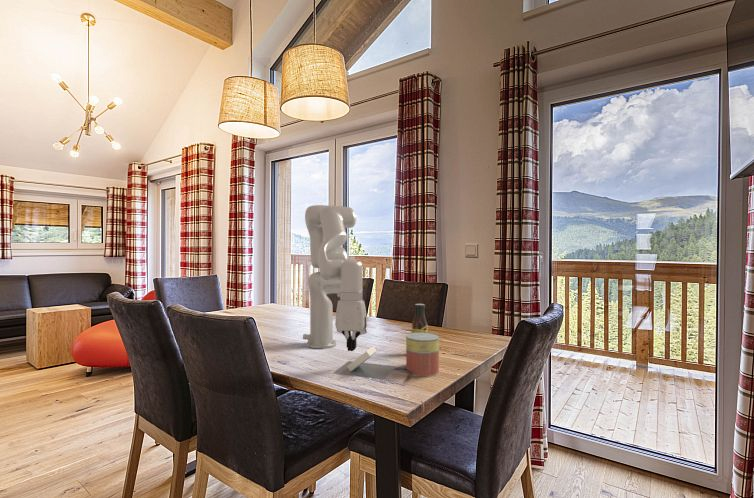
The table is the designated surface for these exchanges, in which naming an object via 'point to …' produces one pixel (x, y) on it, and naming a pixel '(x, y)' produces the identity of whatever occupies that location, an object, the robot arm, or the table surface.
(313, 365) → the table surface
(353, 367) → the tile
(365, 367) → the slate board
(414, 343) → the canned food
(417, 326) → the sauce bottle
